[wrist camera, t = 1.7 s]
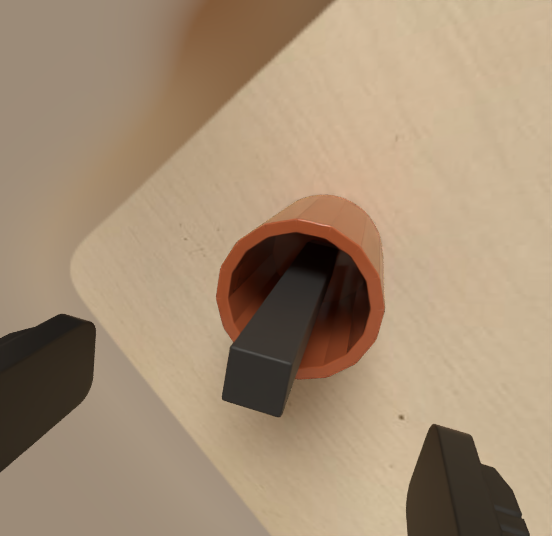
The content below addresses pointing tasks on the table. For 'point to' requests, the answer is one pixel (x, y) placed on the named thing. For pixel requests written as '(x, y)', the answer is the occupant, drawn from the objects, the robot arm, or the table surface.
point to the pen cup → (341, 290)
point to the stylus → (279, 333)
